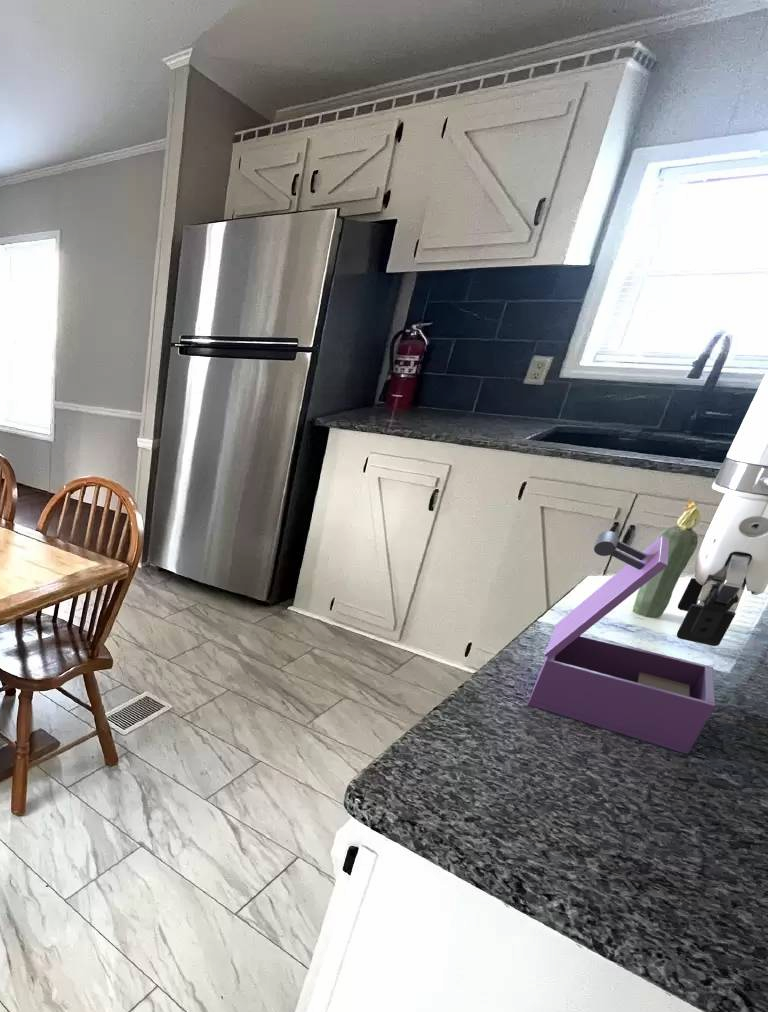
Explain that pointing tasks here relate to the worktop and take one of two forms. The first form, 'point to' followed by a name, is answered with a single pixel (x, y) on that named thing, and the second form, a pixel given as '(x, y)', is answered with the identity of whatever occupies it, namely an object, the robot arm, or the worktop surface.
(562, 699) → the document box
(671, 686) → the block
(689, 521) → the vegetable
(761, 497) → the robot arm
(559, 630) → the lid
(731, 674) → the worktop surface
